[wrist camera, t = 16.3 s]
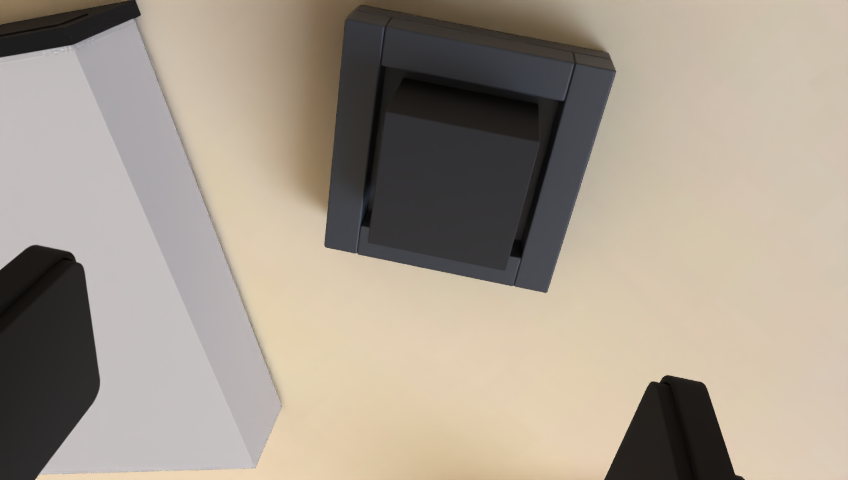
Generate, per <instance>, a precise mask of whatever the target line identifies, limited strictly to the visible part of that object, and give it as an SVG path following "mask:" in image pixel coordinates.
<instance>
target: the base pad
mask: <svg viewBox="0 0 848 480" xmlns="http://www.w3.org/2000/svg"><path fill="white" fill-rule="evenodd" d="M615 74H616V70H615V67H614V65H613V62H612V60H611V58H610V55H609V53H607V52H601V51H596V50H591V49H586V48H581V47H575V46H570V45H565V44H560V43H555V42H550V41H544V40H539V39H534V38H529V37H524V36H518V35H513V34H508V33H503V32H498V31H493V30H487V29H482V28H477V27H472V26H467V25H462V24H456V23H451V22H446V21H441V20H436V19H430V18H425V17H420V16H415V15H410V14H405V13H399V12H394V11H389V10H384V9H379V8H373V7H368V6H363V5H360V6H359V7H357V8H356V9H355V11H353V12H352V13H351V14H350V15H349V16H348V17H347V18H346V20H345V27H344V38H343V49H342V60H341V71H340V82H339V92H338V103H337V114H336V125H335V136H334V147H333V158H332V168H331V179H330V190H329V201H328V212H327V223H326V234H325V244H324V245H325V247H326V248H331V249H336V250H341V251H346V252H351V253H357V254H359V255H364V256H368V257H373V258H378V259H383V260H388V261H393V262H398V263H403V264H407V265H412V266H417V267H422V268H427V269H432V270H437V271H441V272H446V273H451V274H456V275H461V276H466V277H471V278H475V279H480V280H485V281H490V282H495V283H500V284H505V285H509V286H513V285H514V286H515V287H520V288H525V289H530V290H535V291H539V292H544V293H547V291H548V288H549V285H550V282H551V279H552V275H553V272H554V269H555V266H556V263H557V259H558V256H559V253H560V250H561V247H562V243H563V240H564V237H565V234H566V231H567V227H568V224H569V221H570V218H571V215H572V211H573V208H574V205H575V202H576V199H577V195H578V192H579V189H580V186H581V183H582V179H583V176H584V173H585V170H586V167H587V163H588V160H589V157H590V154H591V151H592V147H593V144H594V141H595V138H596V135H597V131H598V128H599V125H600V122H601V119H602V115H603V112H604V109H605V106H606V103H607V99H608V96H609V93H610V90H611V87H612V83H613V80H614V77H615ZM403 78H408V79H413V80H418V81H423V82H428V83H433V84H438V85H443V86H449V87H454V88H459V89H464V90H469V91H474V92H479V93H484V94H489V95H494V96H499V97H504V98H510V99H515V100H520V101H525V102H530V103H535V104H538V108H539V130H540V145H539V149H538V152H537V156H536V160H535V164H534V167H533V171H532V175H531V179H530V182H529V186H528V190H527V194H526V197H525V201H524V205H523V209H522V212H521V216H520V220H519V224H518V227H517V231H516V235H515V239H514V242H513V246H512V250H511V254H510V257H509V261H508V265H507V268H506V271H502V270H497V269H492V268H488V267H483V266H478V265H473V264H468V263H463V262H458V261H453V260H449V259H444V258H439V257H434V256H429V255H424V254H419V253H414V252H410V251H405V250H400V249H395V248H390V247H385V246H380V245H375V244H371V243H368V236H369V228H370V220H371V213H372V205H373V198H374V190H375V183H376V175H377V167H378V160H379V152H380V145H381V137H382V130H383V122H384V115H385V111H386V109H387V107H388V105H389V103H390V101H391V100H392V98H393V96H394V94H395V92H396V90H397V88H398V86H399V85H400V83H401V81H402V79H403Z"/></svg>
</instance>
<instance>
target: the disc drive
mask: <svg viewBox="0 0 848 480" xmlns="http://www.w3.org/2000/svg"><path fill="white" fill-rule="evenodd" d="M140 15H141V14H140V12H139V9H138V6H137V4H136V1H135V0H130V1H125V2H120V3H114V4H109V5H104V6H98V7H93V8H88V9H82V10H77V11H72V12H66V13H61V14H56V15H50V16H45V17H40V18H34V19H29V20H23V21H18V22H13V23H7V24H2V25H0V270H1V269H2V268H3V267H4V266H6V265H7V264H8V263H9V262H10V261H12V260H13V259H14V258H15V257H16V256H18V255H19V254H20V253H21V252H22V251H24V250H25V249H26V248H28V247H29V246H31V245H40V246H45V247H50V248H55V249H60V250H64V251H69V252H71V253H72V254H73V255H74V256H75V259H76V262H78V263H81V264H82V265H83V267H84V271H85V278H86V285H87V292H88V298H89V305H90V312H91V319H92V326H93V333H94V340H95V347H96V354H97V361H98V368H99V375H100V388H99V392H98V395H97V397H96V399H95V401H94V402H93V404H92V405H91V407H90V408H89V409H88V411H87V412H86V413H85V414H84V416H83V417H82V418H81V420H80V421H79V422H78V424H77V425H76V426H75V428H74V429H73V430H72V432H71V433H70V434H69V436H68V437H67V438H66V439H65V441H64V442H63V443H62V445H61V446H60V447H59V449H58V450H57V451H56V453H55V454H54V455H53V457H52V458H51V459H50V461H49V462H48V463H47V464H46V466H45V467H44V468H43V470H42V471H41V472H40V474H39V475H41V474H76V473H110V472H145V471H179V470H213V469H248V468H256V465H257V463H258V461H259V458H260V456H261V454H262V451H263V449H264V447H265V444H266V442H267V440H268V437H269V435H270V433H271V430H272V428H273V426H274V423H275V421H276V419H277V417H278V414H279V412H280V410H281V407H282V406H281V403H280V400H279V398H278V395H277V392H276V390H275V387H274V385H273V382H272V379H271V377H270V374H269V371H268V369H267V366H266V364H265V361H264V358H263V356H262V353H261V351H260V348H259V345H258V343H257V340H256V337H255V335H254V332H253V330H252V327H251V324H250V322H249V319H248V316H247V314H246V311H245V309H244V306H243V303H242V301H241V298H240V295H239V293H238V290H237V288H236V285H235V282H234V280H233V277H232V275H231V272H230V269H229V267H228V264H227V261H226V259H225V256H224V254H223V251H222V248H221V246H220V243H219V240H218V238H217V235H216V233H215V230H214V227H213V225H212V222H211V219H210V217H209V214H208V212H207V209H206V206H205V204H204V201H203V199H202V196H201V193H200V191H199V188H198V185H197V183H196V180H195V178H194V175H193V172H192V170H191V167H190V164H189V162H188V159H187V157H186V154H185V151H184V149H183V146H182V143H181V141H180V138H179V136H178V133H177V130H176V128H175V125H174V123H173V120H172V117H171V115H170V112H169V109H168V107H167V104H166V102H165V99H164V96H163V94H162V91H161V88H160V86H159V83H158V81H157V78H156V75H155V73H154V70H153V67H152V65H151V62H150V60H149V57H148V54H147V52H146V49H145V47H144V44H143V41H142V39H141V36H140V33H139V31H138V28H137V26H136V23H135V20H134V18H136V17H138V16H140Z"/></svg>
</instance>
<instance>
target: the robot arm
mask: <svg viewBox="0 0 848 480" xmlns="http://www.w3.org/2000/svg"><path fill="white" fill-rule="evenodd" d="M99 388H100V375H99V368H98V361H97V354H96V347H95V340H94V333H93V326H92V319H91V312H90V305H89V298H88V292H87V285H86V278H85V271H84V267H83V265H82V264H81V263H78V262H76V259H75V256H74V255H73V254H72V253H71V252H69V251H64V250H60V249H55V248H50V247H45V246H40V245H31V246H29V247H28V248H26V249H25V250H24V251H22V252H21V253H20V254H19V255H18V256H16V257H15V258H14V259H13V260H12V261H10V262H9V263H8V264H7V265H6V266H4V267H3V268H2V269H1V270H0V480H35V479H36V478H37V476H38V475H39V474H40V472H41V471H42V470H43V468H44V467H45V466H46V464H47V463H48V462H49V461H50V459H51V458H52V457H53V455H54V454H55V453H56V451H57V450H58V449H59V447H60V446H61V445H62V443H63V442H64V441H65V439H66V438H67V437H68V436H69V434H70V433H71V432H72V430H73V429H74V428H75V426H76V425H77V424H78V422H79V421H80V420H81V418H82V417H83V416H84V414H85V413H86V412H87V411H88V409H89V408H90V407H91V405H92V404H93V402H94V401H95V399H96V397H97V395H98V392H99ZM604 480H745V479H744V478H743V477H741V476H737V475H735V473H734V470H733V467H732V464H731V461H730V458H729V455H728V451H727V448H726V445H725V442H724V439H723V436H722V433H721V430H720V427H719V424H718V421H717V418H716V415H715V412H714V409H713V406H712V403H711V399H710V396H709V393H708V390H707V388H706V386H705V384H703V383H702V382H698V381H693V380H688V379H684V378H679V377H674V376H669V375H667V376H664V377H663V378H662V380H661V381H660V383H658V382H651V383H650V384H649V385H648V387H647V389H646V391H645V393H644V395H643V397H642V400H641V402H640V404H639V406H638V408H637V410H636V413H635V415H634V417H633V419H632V421H631V423H630V426H629V428H628V430H627V432H626V434H625V436H624V438H623V441H622V443H621V445H620V447H619V449H618V451H617V454H616V456H615V458H614V460H613V462H612V464H611V467H610V469H609V471H608V473H607V475H606V477H605V479H604Z"/></svg>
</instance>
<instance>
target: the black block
mask: <svg viewBox="0 0 848 480" xmlns="http://www.w3.org/2000/svg"><path fill="white" fill-rule="evenodd" d="M539 145H540V130H539V108H538V104H535V103H530V102H525V101H520V100H515V99H510V98H504V97H499V96H494V95H489V94H484V93H479V92H474V91H469V90H464V89H459V88H454V87H449V86H443V85H438V84H433V83H428V82H423V81H418V80H413V79H408V78H403V79H402V81H401V83H400V85H399V86H398V88H397V90H396V92H395V94H394V96H393V98H392V100H391V101H390V103H389V105H388V107H387V109H386V111H385V115H384V122H383V130H382V137H381V145H380V152H379V160H378V167H377V175H376V183H375V190H374V198H373V205H372V213H371V220H370V228H369V236H368V243H371V244H375V245H380V246H385V247H390V248H395V249H400V250H405V251H410V252H414V253H419V254H424V255H429V256H434V257H439V258H444V259H449V260H453V261H458V262H463V263H468V264H473V265H478V266H483V267H488V268H492V269H497V270H502V271H506V268H507V265H508V261H509V257H510V254H511V250H512V246H513V242H514V239H515V235H516V231H517V227H518V224H519V220H520V216H521V212H522V209H523V205H524V201H525V197H526V194H527V190H528V186H529V182H530V179H531V175H532V171H533V167H534V164H535V160H536V156H537V152H538V149H539Z"/></svg>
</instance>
